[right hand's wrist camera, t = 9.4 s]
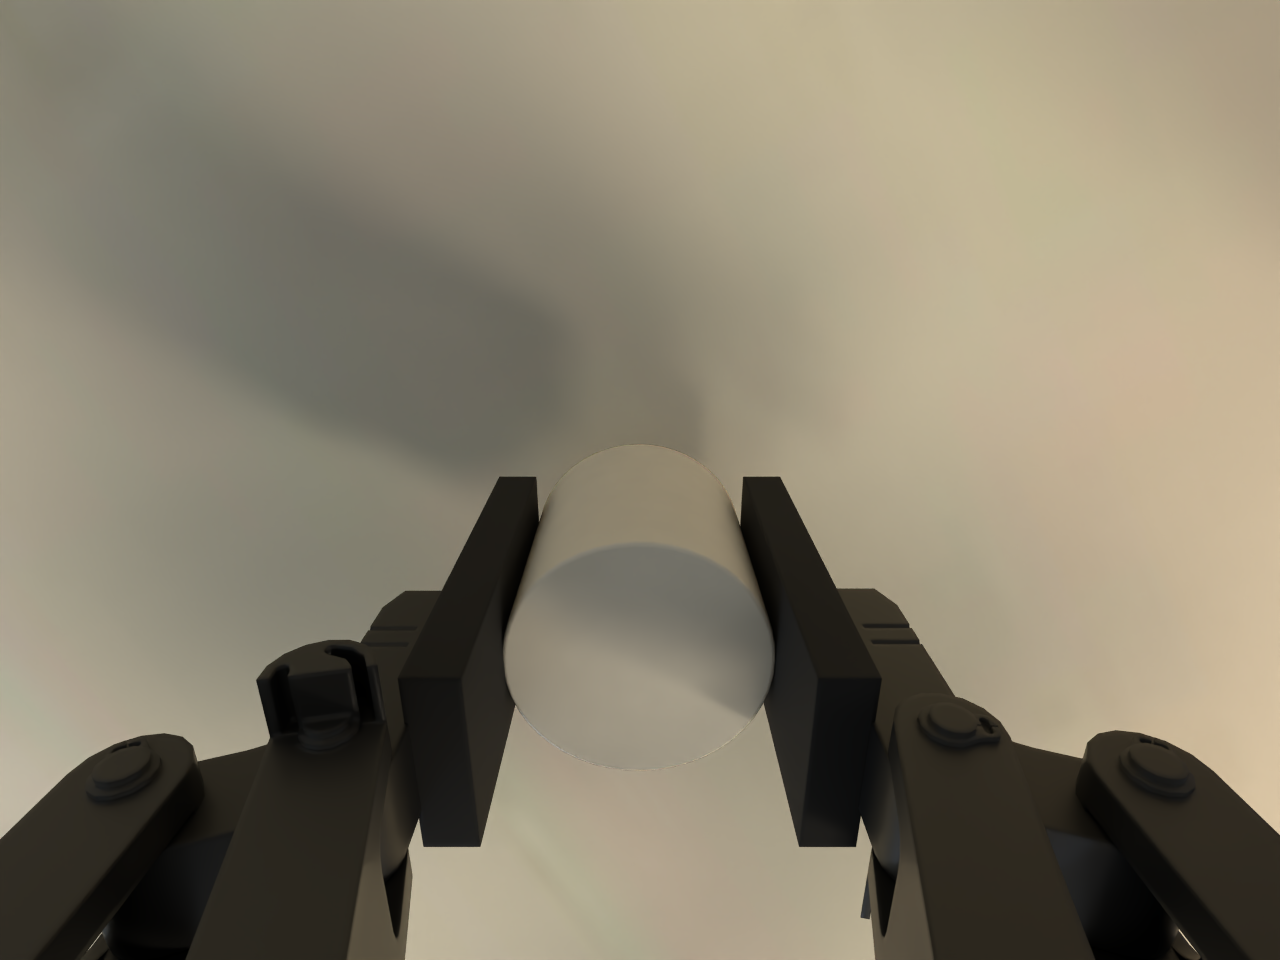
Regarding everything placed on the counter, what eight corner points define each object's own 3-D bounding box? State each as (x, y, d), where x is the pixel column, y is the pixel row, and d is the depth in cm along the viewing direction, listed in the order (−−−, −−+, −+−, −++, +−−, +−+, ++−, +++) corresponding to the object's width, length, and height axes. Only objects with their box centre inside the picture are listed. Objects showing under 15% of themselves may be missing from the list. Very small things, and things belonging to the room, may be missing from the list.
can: (654, 401, 14) (660, 486, 10) (777, 550, 15) (829, 682, 11) (498, 523, 15) (443, 649, 11) (625, 653, 16) (620, 812, 12)
